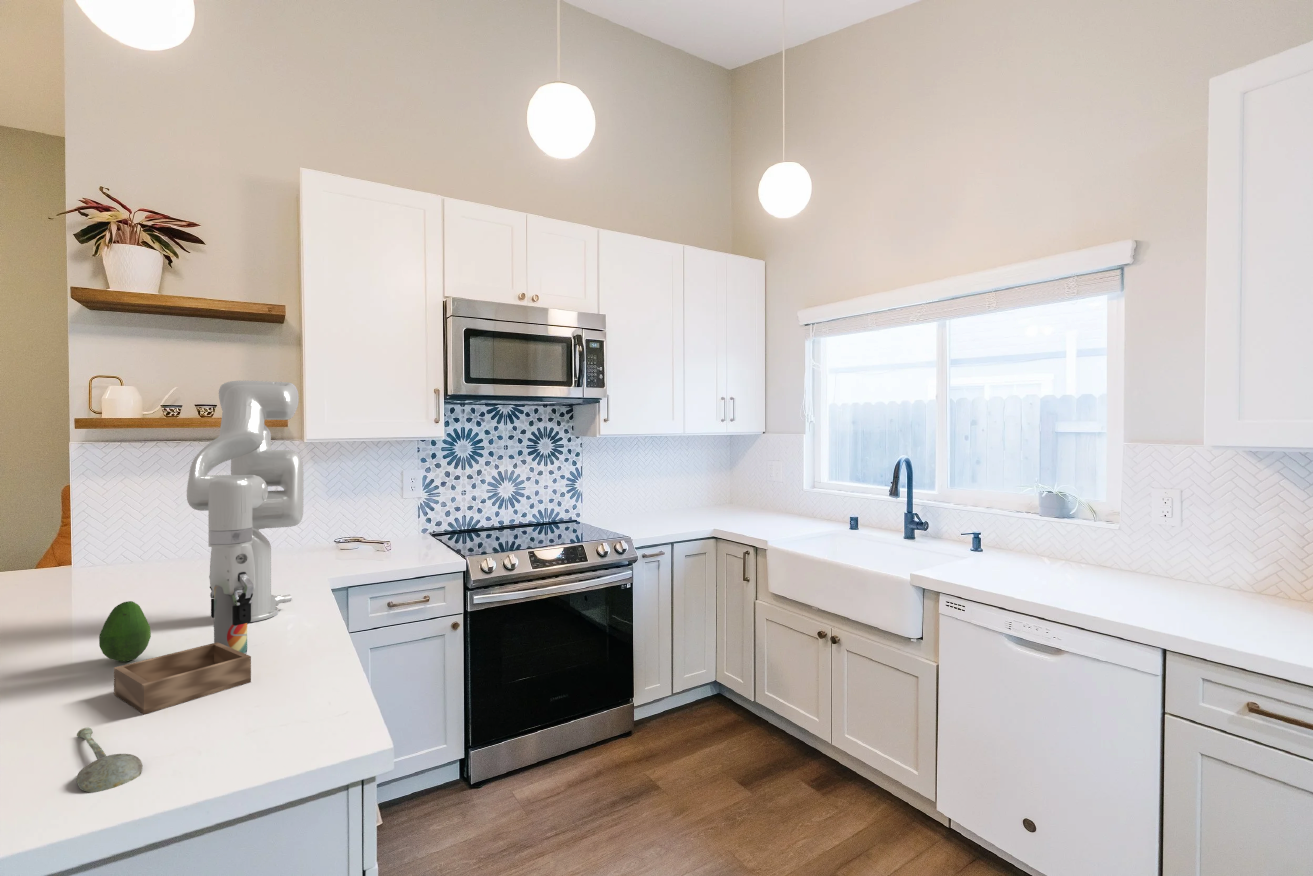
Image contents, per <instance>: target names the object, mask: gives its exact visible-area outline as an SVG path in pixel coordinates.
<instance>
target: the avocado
mask: <svg viewBox="0 0 1313 876" xmlns="http://www.w3.org/2000/svg"><path fill="white" fill-rule="evenodd" d="M151 633H152V632H151V626H150V623H149V621H148V619H147V617H146V615H145V613H144V612H143V609H142V608H141V606H140V605H139V604H138V603H136V602H135V601H134V600H133V601H132V600H130V601H129V600H128V601H123V602H121V603H119V604H117V605H116V606H115V607H114V608H113V609H112V610H111V612H109V614H108V616H107V618H106V619H105V622H104V623H103V626H102V629H101V631H100V632H99V637H98V642H99V644H98V645H99V648H100V650H101V653H102V654H103V655H104V656H105V657H106V658H109V659H110V660H112V661H117V662H130V661H132V660H133V661H134V660H136V659H137V658H139V656H141V655H142V654H143V652H145V650H146V648H148V646H149V642H150V640H151V637H152V636H151V635H152V634H151Z"/></svg>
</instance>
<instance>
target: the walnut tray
mask: <svg viewBox="0 0 1313 876" xmlns="http://www.w3.org/2000/svg"><path fill="white" fill-rule="evenodd" d="M249 683H252V656H251V655H249V654H248V653H247V654H244V653H242V652H239V651H237V650H235V649H232V648H230V647H228V646H225V645H223V644H221V643H218V642H216V643H214V642H213V643H209V644H205V645H204V644H203V645H201V646H200V645H199V646H196V647H193V648H188V649H184V650H180V651H176V652H172V653H171V652H170V653H168V654H164V655H159V656H156V657H151V658H148V659H147V658H146V659H144V660H139V661H136V662H132V663H127V664H124V665H119V666H115V667H113V695H114V696H115V697H117V698H118V699H120V700H121V701H123V702H124V703H126V704H127V705H129V706H130V707H131V708H133V709H134V710H137V711H138V712H140V713H141V714H142V715H147V714H150V713H154V712H157V711H161V710H164V709H166V708H167V709H168V708H170V707H174V706H177V705H181V704H184V703H187V702H189V701H193V700H197V699H200V698H203V697H207V696H209V695H213V694H217V693H219V692H222V691H226V690H230V689H233V688H236V687H240V686H242V685H246V684H249Z"/></svg>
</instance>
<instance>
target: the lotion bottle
mask: <svg viewBox="0 0 1313 876" xmlns="http://www.w3.org/2000/svg"><path fill="white" fill-rule="evenodd" d="M242 589H243V588H242ZM240 596H241V595H238V598H239V597H240ZM234 605H235V604H234V601H233V598H232V595H227V594H225V593H224V592H223V589H222V587H221V586H219V585H215V586H214V618H213V643H216V642H218V643H221V644H223V645H225V646H228V647H230V648H232V649H235V650H237V651H239V652H242V653H244V654H247V655H248V623H245V624H241V625H236V626H234V625H233V624H232V606H234Z"/></svg>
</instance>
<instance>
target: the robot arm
mask: <svg viewBox="0 0 1313 876" xmlns="http://www.w3.org/2000/svg"><path fill="white" fill-rule="evenodd" d="M299 397H300V396H299V391H298V388H297V386H296V385H295V384H294V383H292V382H287V381H284V382H283V381H268V380H266V381H263V380H231V381H227V382H224V383H223V384H221V385H220V387H219V389H218V399H219V405H220V407H221V412H222V414H221V420H220V421H221V422H220V428H219V435H218V436H217V437H216V438H214V439H213V440H211V441H209V443H208V444H207V445H205V446H204V447H202V449H201V450H200V451H199V452H198V453H197V454H196V456H194V458H193V460H192V462H191V465H190V469H189V475H188V480H187V484H186V485H187V486H186V501H187V503H188V505H189V507H190V508H192V509H193V510H196V511H201V512H202V511H207V512H208V515H207V516H208V519H207V521H208V525H207V526H208V529H207V530H208V543H207V544H208V547H209V548H211V550H210V558H209V576H208V578H209V588H210V591H211V592H210V595H209V596H210V598H211V599H210V617H211V618H212V619H214V586H215V585H219V586H221V587H222V589H223V592H224V593H225V594H227V595H232V598H233V601H234V604H235V605H234V606H232V624H233V625H234V626H236V625H241V624H245V623H247V624H248V623H249V624H250V623H253V622H259V621H263V620H267V619H269V618H272V617H275V616H277V614H278V613H279V607H277V606H279V605H280V604H286V603H291V602H292V601H293V599H292V595H291V594H285V595H281V594H280V595H274V594H272V546H271V543H270V541H269V539H268V538H267V537H266V536H265V535H264V534H263V533H262V532H261V531H260V530H265V529H276V528H277V529H278V528H279V529H280V528H289V527H290V528H291V527H295V526H298V525H299V524H300V523H301V522H302V520H303V516H304V463H303V458H302V456H301V454H300V453H299V452H297V451H295V450H292V449H272V448H271V446H272V443H271V442H272V438H271V437H272V434H271V433H272V432H271V431H270V429H269V428H268V427H267V425H266V424H265V421H266V420H267V421H269V420H271V421H272V420H276V421H277V420H279V421H281V420H282V421H286V420H291V419H292V418H293V417H294V416H295V414H296V411H297V409H298V408H299V407H298V406H299V400H300V398H299ZM227 461H230V474H220V475H219V474H218V475H214V474H213V475H208V474H209V473H210V471H211V470H213V468H215V467H217V466H218V465H221V464H223V463H225V462H227ZM268 487H280V488H282V489H283V490H269V488H268ZM242 588H243V589H242ZM238 595H241V596H240V597H239V598H238Z"/></svg>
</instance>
